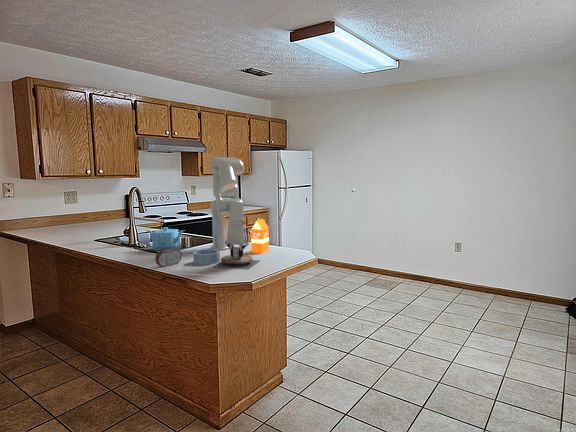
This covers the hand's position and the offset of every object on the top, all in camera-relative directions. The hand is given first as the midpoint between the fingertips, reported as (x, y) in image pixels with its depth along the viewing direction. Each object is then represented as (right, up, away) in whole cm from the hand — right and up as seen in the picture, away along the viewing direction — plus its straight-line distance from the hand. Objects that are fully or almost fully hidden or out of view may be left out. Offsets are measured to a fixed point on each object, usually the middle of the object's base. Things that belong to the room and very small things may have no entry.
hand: (236, 256), depth 209 cm
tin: (-36, -5, 0) cm, 37 cm away
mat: (0, -4, 0) cm, 4 cm away
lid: (0, -2, 0) cm, 2 cm away
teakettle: (-49, 0, +35) cm, 60 cm away
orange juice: (+10, -1, +33) cm, 35 cm away
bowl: (-17, -4, +5) cm, 18 cm away
